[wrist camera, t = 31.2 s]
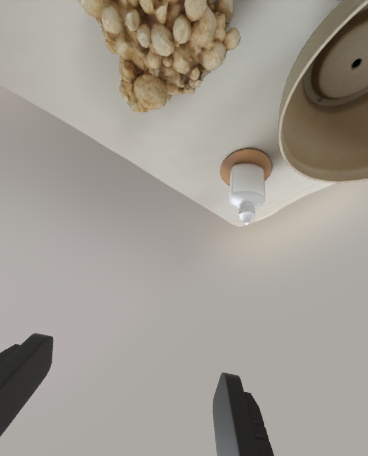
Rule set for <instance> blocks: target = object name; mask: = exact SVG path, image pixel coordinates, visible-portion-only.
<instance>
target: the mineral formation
mask: <svg viewBox="0 0 368 456" xmlns="http://www.w3.org/2000/svg"><path fill="white" fill-rule="evenodd" d="M78 1H79V3H80V4H81V5H82V6H83V8H84V10H85V11H86V13H87V14H89V15H91V16H93V17H95V18H96V20H97V21H98V23H99V24H100V26H101V27H102V28H103V30H102V31H103V33H104V36H105V39H106V46H107V48H108V49H109V50H110V51H111V52H112V53H116V52H117V54H118V56H119V58H120V76H121V78H122V80H121V85H120V89H119V90H120V93H121V95H122V96H123V98H124V99H125V100H126V103H127V104H128V105H129V106H130V107H131V109H132V111H133V112H135V113H139V112H141V113H143V112H146V111H150V110H154V109H158V108H161V107H162V106H164V105H165V103H166V102H169V101H170V100H171V97H172V95H177V94H179V93H181V94H184V93H186V94H193V93H194V92H195V88H196V87H200V84H201V82H202V80H203V78H204V77H205V76H206V75H208V74H209V73H210V72H211V70H215V69H217V68H218V67H219V66H220V65H221V64H222V63H223V61H224V60H225V57H226V53H227V50H233V49H234V48H235V47H236V46H237V45H238V44H239V42H240V38H241V37H240V33H239V32H238V30H237V29H236V28H231V29H230V30H228V31H227V29H228V27H229V24H230V21H231V19H232V17H233V8H234V1H233V0H217V1H216V2H215V4H214V5H213V4H212V2H211V0H78ZM226 31H227V32H226Z"/></svg>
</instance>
